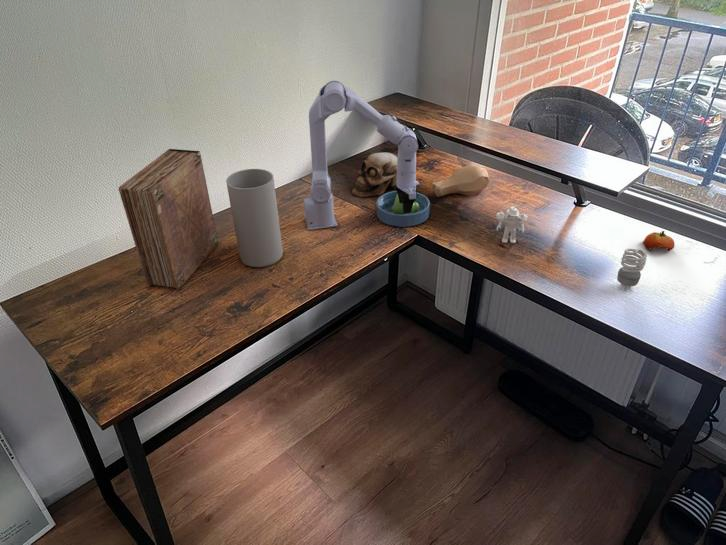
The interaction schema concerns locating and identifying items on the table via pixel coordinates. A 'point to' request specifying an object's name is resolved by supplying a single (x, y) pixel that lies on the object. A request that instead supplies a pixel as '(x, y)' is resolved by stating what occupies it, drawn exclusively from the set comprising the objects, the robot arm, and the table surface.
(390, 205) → the bowl
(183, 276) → the book
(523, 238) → the table surface
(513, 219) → the hat wearing toy figure
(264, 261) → the cylinder vase
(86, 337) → the table surface
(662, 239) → the tomato
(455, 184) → the squash
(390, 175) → the coin bank
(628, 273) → the light bulb
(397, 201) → the pale zucchini
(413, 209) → the green zucchini
